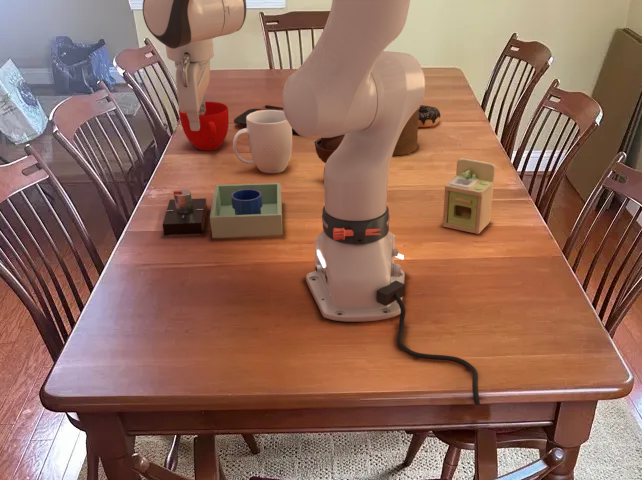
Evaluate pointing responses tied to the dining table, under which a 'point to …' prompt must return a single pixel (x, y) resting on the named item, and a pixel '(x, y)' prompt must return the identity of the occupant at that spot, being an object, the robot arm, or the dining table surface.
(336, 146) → the ice cream bowl
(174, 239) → the dining table surface
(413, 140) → the wooden container
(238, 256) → the dining table surface
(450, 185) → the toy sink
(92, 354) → the dining table surface
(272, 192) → the basin
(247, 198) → the blue cup
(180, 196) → the rotary knob
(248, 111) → the sushi plate
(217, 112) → the ceramic cup
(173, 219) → the black dial base
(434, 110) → the donut
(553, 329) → the dining table surface
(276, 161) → the mug
